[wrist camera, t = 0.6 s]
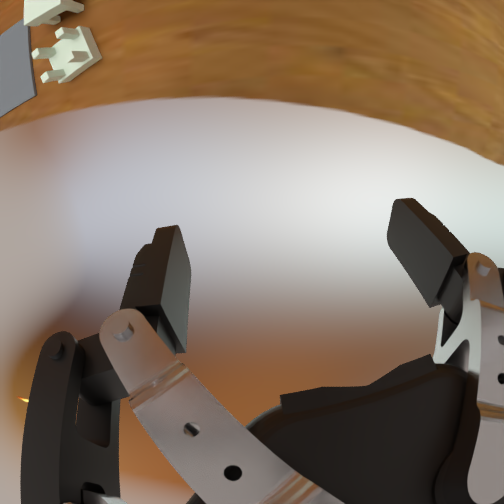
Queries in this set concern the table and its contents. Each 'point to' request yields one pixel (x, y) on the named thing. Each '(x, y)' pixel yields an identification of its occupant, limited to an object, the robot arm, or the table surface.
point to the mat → (16, 68)
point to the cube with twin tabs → (48, 11)
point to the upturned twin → (69, 54)
